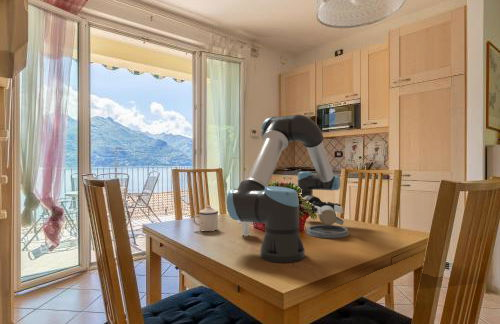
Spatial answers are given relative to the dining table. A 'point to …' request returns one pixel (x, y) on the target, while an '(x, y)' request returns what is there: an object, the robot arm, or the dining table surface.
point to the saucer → (327, 231)
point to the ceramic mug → (329, 216)
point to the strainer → (245, 227)
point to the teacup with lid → (208, 219)
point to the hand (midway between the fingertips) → (331, 210)
